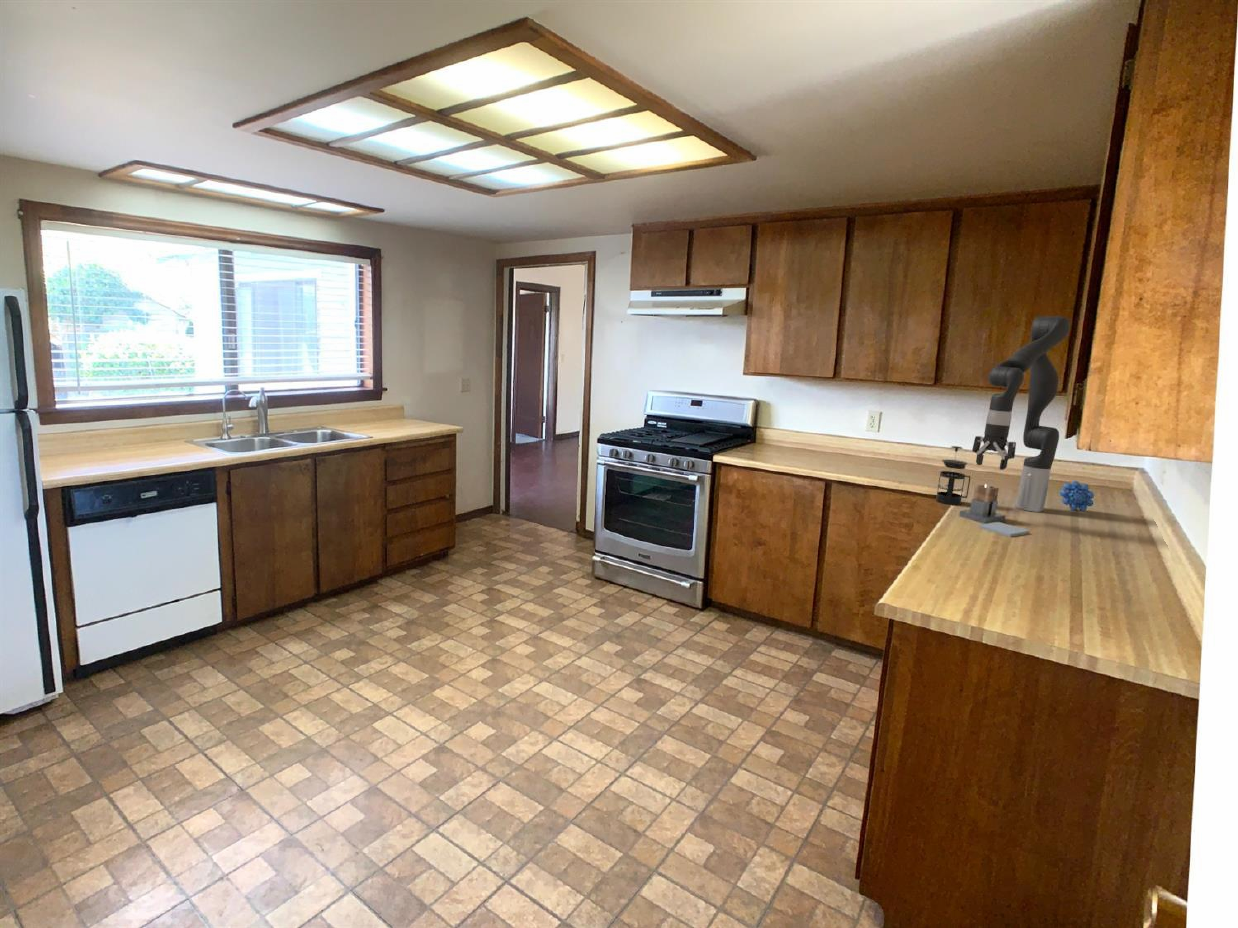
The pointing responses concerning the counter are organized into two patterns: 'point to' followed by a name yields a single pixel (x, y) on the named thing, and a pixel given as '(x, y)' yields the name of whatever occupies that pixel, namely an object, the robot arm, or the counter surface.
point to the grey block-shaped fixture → (983, 511)
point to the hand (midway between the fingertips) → (990, 467)
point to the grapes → (1077, 495)
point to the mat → (1004, 529)
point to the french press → (952, 482)
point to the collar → (986, 493)
